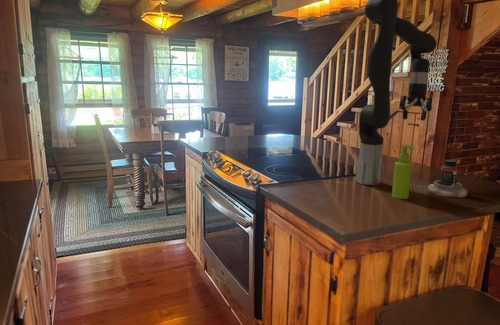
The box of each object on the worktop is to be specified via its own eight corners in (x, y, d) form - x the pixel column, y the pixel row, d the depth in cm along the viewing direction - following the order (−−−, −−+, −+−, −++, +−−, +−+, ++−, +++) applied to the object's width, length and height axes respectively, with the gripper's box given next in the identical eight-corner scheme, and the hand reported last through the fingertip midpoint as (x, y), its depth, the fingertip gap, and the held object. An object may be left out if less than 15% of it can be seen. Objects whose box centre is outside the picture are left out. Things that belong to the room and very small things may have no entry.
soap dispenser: (400, 200, 137) (405, 147, 132) (388, 195, 143) (393, 143, 139) (413, 199, 138) (419, 146, 134) (401, 193, 145) (406, 143, 140)
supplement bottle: (457, 190, 144) (461, 162, 142) (441, 189, 145) (444, 161, 143) (453, 186, 150) (456, 159, 147) (437, 185, 151) (440, 158, 148)
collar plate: (442, 198, 140) (443, 189, 139) (420, 187, 153) (421, 179, 153) (475, 196, 142) (476, 187, 141) (451, 186, 155) (452, 178, 155)
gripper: (408, 81, 160) (403, 119, 162) (438, 83, 162) (433, 121, 164) (398, 82, 167) (394, 118, 170) (427, 84, 169) (423, 120, 172)
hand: (413, 119), depth 167 cm, fingers open, 8 cm apart
